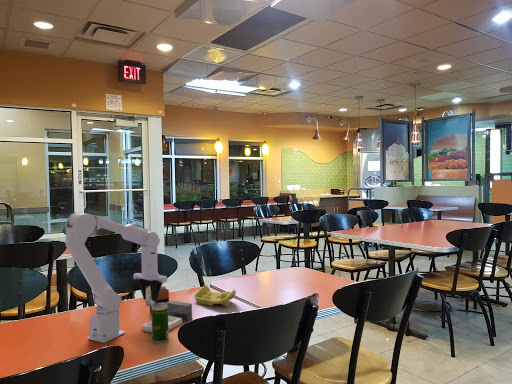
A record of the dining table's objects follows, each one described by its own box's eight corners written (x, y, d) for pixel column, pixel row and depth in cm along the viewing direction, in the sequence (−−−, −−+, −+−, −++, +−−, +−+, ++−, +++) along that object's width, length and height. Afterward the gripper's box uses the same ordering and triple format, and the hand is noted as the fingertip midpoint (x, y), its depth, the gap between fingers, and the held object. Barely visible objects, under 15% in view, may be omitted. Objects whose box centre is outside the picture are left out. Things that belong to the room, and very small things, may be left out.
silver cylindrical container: (151, 306, 141) (150, 287, 141) (143, 305, 143) (143, 286, 143) (157, 303, 145) (157, 285, 145) (150, 302, 146) (149, 284, 146)
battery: (169, 311, 157) (169, 287, 156) (153, 315, 153) (152, 290, 152) (165, 308, 160) (164, 285, 160) (149, 312, 156) (148, 288, 156)
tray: (161, 334, 133) (160, 329, 133) (142, 330, 137) (142, 325, 137) (182, 323, 143) (182, 318, 143) (164, 319, 147) (164, 314, 147)
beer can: (169, 336, 132) (168, 301, 131) (167, 343, 126) (166, 306, 126) (153, 337, 131) (152, 302, 131) (150, 344, 126) (150, 307, 125)
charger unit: (187, 321, 145) (186, 306, 145) (166, 317, 150) (166, 302, 149) (192, 318, 148) (192, 303, 148) (172, 315, 152) (171, 300, 152)
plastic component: (191, 297, 169) (207, 282, 175) (198, 310, 171) (213, 295, 177) (221, 303, 155) (236, 287, 162) (228, 317, 157) (243, 301, 164)
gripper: (172, 263, 144) (172, 299, 144) (142, 259, 150) (143, 294, 151) (159, 266, 137) (160, 304, 138) (128, 263, 144) (129, 299, 144)
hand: (150, 299), depth 144 cm, fingers closed on silver cylindrical container, 4 cm apart
